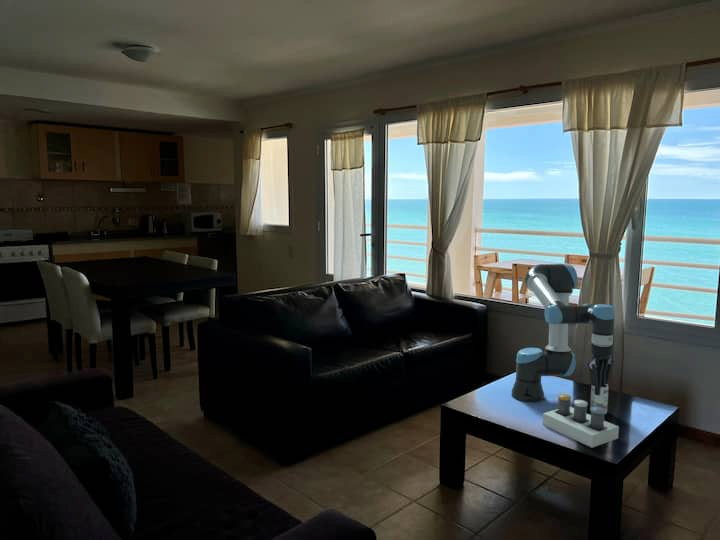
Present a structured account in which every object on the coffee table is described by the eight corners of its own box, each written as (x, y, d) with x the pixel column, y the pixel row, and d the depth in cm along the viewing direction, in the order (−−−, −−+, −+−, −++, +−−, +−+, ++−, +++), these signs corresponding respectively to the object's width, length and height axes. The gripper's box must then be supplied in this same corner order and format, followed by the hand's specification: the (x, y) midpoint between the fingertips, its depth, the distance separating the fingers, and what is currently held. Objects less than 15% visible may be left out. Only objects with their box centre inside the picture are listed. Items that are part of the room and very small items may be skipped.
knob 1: (554, 413, 219) (555, 395, 218) (562, 410, 222) (563, 392, 221) (564, 417, 215) (565, 399, 214) (572, 414, 217) (573, 396, 216)
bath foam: (601, 416, 226) (603, 372, 224) (586, 411, 232) (589, 368, 230) (610, 412, 230) (612, 369, 228) (595, 407, 236) (598, 365, 233)
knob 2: (570, 419, 212) (571, 401, 211) (578, 417, 215) (579, 399, 214) (580, 424, 208) (581, 405, 207) (589, 421, 210) (590, 403, 209)
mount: (542, 424, 218) (543, 413, 218) (568, 416, 226) (568, 406, 225) (591, 447, 198) (592, 435, 197) (618, 438, 205) (618, 426, 205)
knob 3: (586, 427, 205) (588, 408, 204) (595, 424, 208) (596, 405, 207) (598, 432, 201) (599, 412, 200) (606, 429, 203) (608, 410, 202)
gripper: (599, 348, 193) (596, 408, 196) (621, 344, 200) (617, 402, 202) (582, 344, 200) (579, 402, 203) (604, 340, 206) (601, 396, 209)
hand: (598, 402), depth 203 cm, fingers closed
